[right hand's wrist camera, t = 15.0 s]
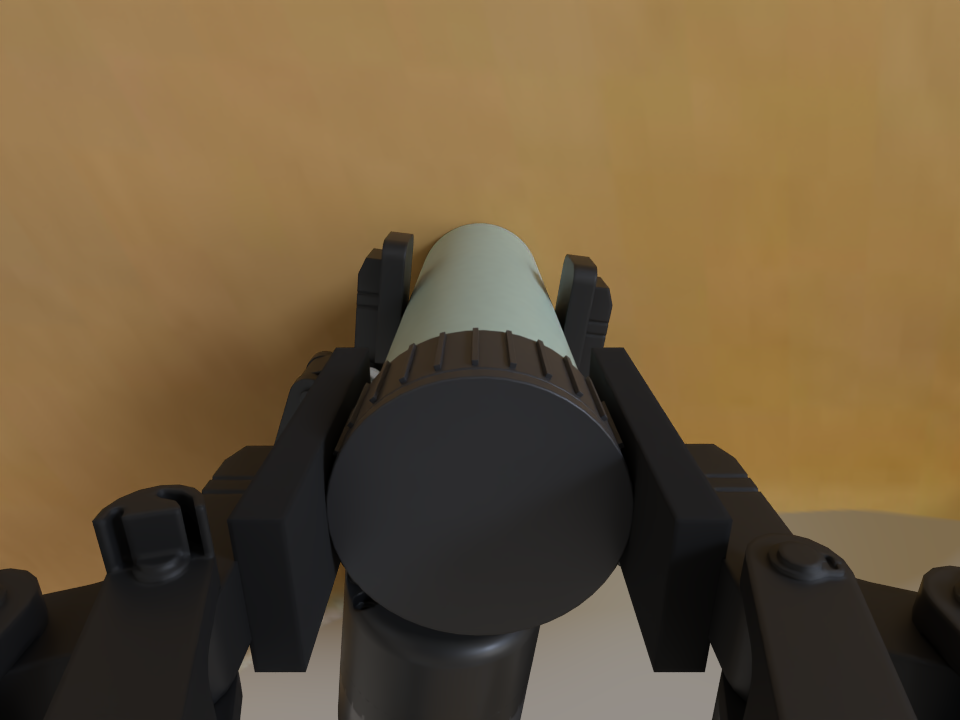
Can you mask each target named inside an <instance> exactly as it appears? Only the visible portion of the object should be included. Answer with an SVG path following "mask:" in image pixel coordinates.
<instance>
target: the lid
mask: <svg viewBox="0 0 960 720" xmlns="http://www.w3.org/2000/svg"><path fill="white" fill-rule="evenodd" d="M621 448H624V445H623V442H622V440H621V438H620V435H619V433H618V431H617V429H616V427H615V424H614V422H613V420H612V418H611V415H610V413H609V411H608V409H607V406H606V404H605V402H604V401H603V402H601V401H600V399H599V396H598V394H597V392H596V389H595V387H594V385H593V383H592V380H591V379H590V377H589V376H588V377H586V378H585V377H584V376H583V375H582V374H581V373H580V371H579V370H578V369H577V368H576V367H574V366H573V365H572V362H571V359H570V358H569V357H568V356H567V355H566V356H565V357H563V356H561V355H560V354H558V353H557V352H555V351H554V350H552V349H550V348H549V347H547V346H545V345H544V343H543V341H541V340H539V339H538V340H537V341H534V340H531V339H528V338H525V337H523V336H520V335H515V334H512V331H510V330H506V332H501V331H489V330H479V328H473V330H470V331H460V332H454V333H448V334H446V333H445V332H442V333H440V335H439V336H438V337H434V338H431V339H429V340H426V341H424V342H422V343H419V344H417V345H415V343H413V344H411V345H409V348H408V350H406V351H405V352H403V353H402V354H400V355H399V356H397V357H396V358H395V359H394V360H392V361H391V362H389V361H388V360H387V361H386V362H385V363H384V364H383V367H382V369H381V372H380V373H379V374H378V375H377V376H376V377H375V378H374V380H373V381H372V382H371V384H369V383H366V384H365V386H364V388H363V390H362V392H361V394H360V397H359V399H358V401H357V404H356V406H355V408H353V409H352V411H351V414H350V416H349V418H348V420H347V423H346V425H345V427H344V429H343V432H342V434H341V436H340V438H339V441H338V443H337V445H336V447H335V450H334V452H333V455H334V456H337V457H336V459H335V461H334V464H333V467H332V470H331V473H330V476H329V479H328V486H327V492H326V513H327V522H328V530H329V534H330V537H331V540H332V543H333V547H334V549H335V551H336V553H337V555H338V557H339V559H340V561H341V563H342V565H343V566H344V568H345V569H346V571H347V572H348V574H349V575H350V576H351V578H352V579H353V580H354V581H355V582H356V583H357V584H358V586H359V587H360V588H361V589H362V590H363V591H364V592H365V593H366V594H368V595H369V596H370V597H371V598H372V599H373V600H374V601H376V602H377V603H379V604H380V605H382V606H383V607H384V608H386V609H387V610H389V611H390V612H392V613H394V614H396V615H398V616H400V617H402V618H404V619H406V620H408V621H411V622H413V623H416V624H418V625H421V626H424V627H427V628H431V629H434V630H438V631H442V632H448V633H454V634H462V635H498V634H506V633H513V632H517V631H522V630H526V629H530V628H533V627H536V626H539V625H542V624H544V623H547V622H550V621H552V620H554V619H556V618H558V617H560V616H562V615H564V614H566V613H567V612H569V611H571V610H572V609H574V608H576V607H577V606H579V605H580V604H581V603H583V602H584V601H585V600H586V599H588V598H589V597H590V596H591V595H593V594H594V593H595V592H596V591H597V590H598V589H599V588H600V587H601V586H602V585H603V583H605V581H606V580H607V579H608V577H609V576H610V575H611V573H612V572H613V571H614V569H615V568H616V566H617V564H618V563H619V561H620V559H621V557H622V555H623V554H624V551H625V548H626V546H627V543H628V541H629V538H630V534H631V527H632V518H633V509H634V492H633V485H632V481H631V477H630V473H629V469H628V467H627V465H626V462H625V460H624V458H623V455H622V453H621V451H620V449H621Z"/></svg>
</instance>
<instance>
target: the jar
mask: <svg viewBox="0 0 960 720" xmlns="http://www.w3.org/2000/svg"><path fill="white" fill-rule="evenodd" d="M473 328H479V330H489V331H501V332H506V330H510V331H512V334H515V335H520V336H523V337H525V338H528V339H531V340H534V341H537V340H538V339H539V340H541V341H543V343H544V345H545V346H547V347H549V348H550V349H552V350H554V351H555V352H557V353H558V354H560V355H561V356H563V357H565V356H566V355H567V356H568V357H569V358H570V359H571V362H572V365H573V366H574V367H576V368H577V366H576V364H575V361H574V359H573V356H572V353H571V351H570V348H569V346H568V343H567V341H566V338H565V336H564V333H563V331H562V328H561V326H560V323H559V321H558V318H557V316H556V313H555V311H554V308H553V305H552V303H551V300H550V298H549V295H548V293H547V290H546V288H545V285H544V283H543V280H542V278H541V275H540V273H539V270H538V268H537V265H536V263H535V260H534V258H533V255H532V254H531V252H530V250H529V249H528V247H527V246H526V245H525V243H524V242H523V241H522V240H521V239H520V238H518V237H517V236H516V235H515V234H513V233H512V232H510V231H508V230H506V229H504V228H502V227H499V226H496V225H492V224H484V223H475V224H468V225H464V226H461V227H458V228H456V229H454V230H452V231H450V232H448V233H447V234H445V235H444V236H443V237H441V238H440V239H439V240H438V241H437V242H436V243H435V244H434V246H433V247H432V248H431V250H430V251H429V253H428V255H427V257H426V259H425V262H424V264H423V267H422V269H421V272H420V274H419V277H418V280H417V282H416V285H415V287H414V290H413V292H412V295H411V297H410V300H409V302H408V305H407V307H406V310H405V312H404V315H403V317H402V320H401V323H400V325H399V328H398V330H397V333H396V335H395V338H394V340H393V343H392V345H391V348H390V350H389V353H388V355H387V358H386V360H385V362H386V361H387V360H388V361H389V362H391V361H392V360H394V359H395V358H396V357H397V356H399V355H400V354H402V353H403V352H405V351H406V350H408V348H409V345H411V344H413V343H415V345H417V344H419V343H422V342H424V341H426V340H429V339H431V338H434V337H438V336H439V335H440V333H442V332H445V333H446V334H448V333H454V332H460V331H470V330H473Z"/></svg>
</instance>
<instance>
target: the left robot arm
mask: <svg viewBox="0 0 960 720" xmlns="http://www.w3.org/2000/svg"><path fill="white" fill-rule="evenodd" d="M413 240H414V236H413V234H407V233H399V232H390V233H389V235H388V236H387V237H386V238H385V240H384V243H383V249H373V250H372V251H371V252H370V254H369V255H368V256H367V257H366V259H365V261H364V263H363V265H362V267H361V269H360V271H359V273H358V289H357V291H358V294H357V309H356V329H355V347H354V348H369V362H370V376H371V382H372V381H373V380H374V378H375V377H376V376H377V375H378V374H379V373H380V372H381V369H382V367H383V364H384V363H385V360H386V358H387V355H388V353H389V350H390V348H391V345H392V343H393V340H394V338H395V335H396V333H397V330H398V328H399V325H400V323H401V320H402V317H403V315H404V312H405V310H406V307H407V305H408V302H409V290H410V278H411V266H412V254H413ZM611 310H612V301H611V295H610V290H609V288H608V286H607V285H606V284H605V282H604V281H603V280H602V278H601V277H597V267H596V265H595V264H594V263H593V261H592V260H591V259H590V258H589V257H585V256H577V255H569V254H567V255H566V257H565V260H564V264H563V269H562V275H561V280H560V286H559V291H558V297H557V302H556V308H555V313H556V316H557V318H558V321H559V323H560V326H561V328H562V331H563V333H564V336H565V338H566V341H567V343H568V346H569V348H570V351H571V353H572V356H573V359H574V361H575V364H576V366H577V369H578V370H579V371H580V373H581V374H582V375H583V376H584V377H585V378H586V377H588V376H589V371H590V357H591V348H603V347H604V342H605V336H606V333H607V328H608V322H609V319H610V314H611ZM332 353H333V352H329V351H322V352H319V353H317V354H315V355H314V356H313V357H312V359H311V360H310V362H309V363H308V365H307V368H306V370H305V371H304V373H303V374H302V375H301V376H300V377H299V378H298V379H297V380H296V381H295V383H294V384H293V386H292V387H291V389H290V392H289V396H288V399H287V403H286V406H285V409H284V413H283V416H282V420H281V423H280V427H279V430H278V433H277V437H276V440H275V443H276V441H277V440H278V438H279V437H280V435H281V434H282V432H283V430H284V429H285V427H286V426H287V424H288V423H289V421H290V419H291V418H292V416H293V415H294V413H295V412H296V410H297V408H298V407H299V405H300V404H301V402H302V401H303V399H304V397H305V396H306V394H307V393H308V391H309V389H310V388H311V386H312V385H313V383H314V382H315V380H316V378H317V377H318V375H319V374H320V372H321V371H322V369H323V367H324V366H325V364H326V363H327V361H328V360H329V358H330V356H331V355H332ZM274 445H275V444H274ZM618 565H619V566H620V563H618ZM539 628H540V625H539V626H536V627H533V628H530V629H526V630H522V631H517V632H513V633H506V634H498V635H462V634H454V633H448V632H442V631H438V630H434V629H431V628H427V627H424V626H421V625H418V624H416V623H413V622H411V621H408V620H406V619H404V618H402V617H400V616H398V615H396V614H394V613H392V612H390V611H389V610H387V609H386V608H384V607H383V606H382V605H380V604H379V603H377V602H376V601H374V600H373V599H372V598H371V597H370V596H369V595H368V594H366V593H365V592H364V591H363V590H362V589H361V588H360V587H359V586H358V584H357V583H356V582H355V581H354V580H353V579H352V578H351V576H350V575H349V574H348V572H347V571H346V569H345V590H344V608H343V627H342V645H341V661H340V680H339V701H338V720H520V718H521V713H522V709H523V704H524V699H525V694H526V689H527V685H528V680H529V675H530V671H531V666H532V662H533V657H534V652H535V647H536V642H537V638H538V633H539Z"/></svg>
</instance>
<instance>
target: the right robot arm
mask: <svg viewBox="0 0 960 720" xmlns="http://www.w3.org/2000/svg"><path fill="white" fill-rule="evenodd" d="M589 377H590V379H591V380H592V383H593V385H594V387H595V389H596V392H597V394H598V396H599V399H600V401H601V402H603V401H604V402H605V404H606V406H607V409H608V411H609V413H610V415H611V418H612V420H613V422H614V424H615V427H616V429H617V431H618V433H619V435H620V438H621V440H622V442H623V445H624V448H621V449H620V451H621V453H622V455H623V458H624V460H625V462H626V465H627V467H628V469H629V473H630V477H631V481H632V485H633V492H634V509H633V518H632V527H631V534H630V538H629V541H628V543H627V546H626V548H625V551H624V554H623V555H622V557H621V559H620V561H619V563H620V566H621V569H622V572H623V575H624V579H625V582H626V585H627V588H628V591H629V594H630V598H631V601H632V604H633V607H634V610H635V613H636V617H637V620H638V623H639V626H640V629H641V632H642V636H643V639H644V642H645V645H646V648H647V651H648V655H649V658H650V661H651V664H652V667H653V670H654V672H705V668H706V663H707V657H708V652H709V646H710V643H711V645H712V647H713V650H714V652H715V654H716V657H717V659H718V661H719V663H720V666H721V668H722V672H721V677H720V682H719V687H718V692H717V698H716V703H715V708H714V713H713V718H712V720H960V567H956V566H944V567H937V568H932V569H931V570H930V571H929V572H927V573H926V574H925V575H924V576H923V579H922V582H921V585H920V588H919V591H918V592H914V591H909V590H904V589H900V588H895V587H891V586H886V585H881V584H876V583H871V582H867V581H864V580H860V579H857V578H855V576H854V574H853V572H852V570H851V569H850V568H849V566H848V565H847V564H846V562H845V561H844V560H843V559H842V558H841V557H839V556H838V555H837V554H835V553H834V552H833V551H831V550H830V549H829V548H827V547H825V546H823V545H821V544H819V543H817V542H814V541H812V540H810V539H807V538H804V537H800V536H796V535H793V534H792V533H791V531H790V530H789V529H788V527H787V526H786V525H785V523H784V522H783V521H782V519H781V518H780V517H779V516H778V514H777V513H776V512H775V510H774V509H773V508H772V506H771V505H770V504H769V502H768V501H767V500H766V498H765V497H764V496H763V494H762V493H761V492H758V488H757V486H756V485H755V484H754V482H753V481H752V480H751V479H750V478H748V476H747V473H746V472H745V471H744V469H743V468H742V467H741V465H740V464H739V463H738V461H737V460H736V459H735V458H734V457H733V456H731V455H730V454H728V453H726V452H725V451H723V450H722V449H720V448H719V447H717V446H716V445H714V444H684V442H683V441H682V439H681V437H680V436H679V434H678V433H677V431H676V430H675V428H674V426H673V425H672V423H671V422H670V420H669V418H668V417H667V415H666V414H665V412H664V411H663V409H662V407H661V406H660V404H659V403H658V401H657V400H656V398H655V396H654V395H653V393H652V392H651V390H650V389H649V387H648V385H647V384H646V382H645V381H644V379H643V377H642V376H641V374H640V373H639V371H638V370H637V368H636V366H635V365H634V363H633V362H632V360H631V359H630V357H629V355H628V354H627V352H626V351H625V349H624V348H591V357H590V371H589ZM366 383H369V384H371V376H370V362H369V348H335V350H334V352H333V353H332V355H331V356H330V358H329V360H328V361H327V363H326V364H325V366H324V367H323V369H322V371H321V372H320V374H319V375H318V377H317V378H316V380H315V382H314V383H313V385H312V386H311V388H310V389H309V391H308V393H307V394H306V396H305V397H304V399H303V401H302V402H301V404H300V405H299V407H298V408H297V410H296V412H295V413H294V415H293V416H292V418H291V419H290V421H289V423H288V424H287V426H286V427H285V429H284V430H283V432H282V434H281V435H280V437H279V438H278V440H277V441H276V443H275V445H274V446H246V447H244V448H243V449H241V450H239V451H238V452H236V453H235V454H233V455H232V456H230V457H229V458H227V459H226V460H225V461H224V462H223V463H222V465H221V466H220V467H219V469H218V470H217V471H216V473H215V474H214V475H213V478H212V480H210V481H209V482H208V483H207V485H206V486H205V487H204V489H203V490H202V494H201V493H200V492H199V491H198V490H196V489H195V488H192V487H188V486H183V485H160V486H155V487H151V488H146V489H142V490H138V491H136V492H133V493H131V494H129V495H126V496H124V497H121V498H119V499H117V500H116V501H114V502H113V503H111V504H110V505H108V506H107V507H105V508H104V509H102V510H101V512H100V513H99V514H98V515H97V516H96V517H95V519H94V520H93V521H92V522H93V526H94V529H95V533H96V536H97V540H98V543H99V547H100V550H101V554H102V557H103V561H104V564H105V568H106V571H107V575H106V577H105V579H104V581H102V582H98V583H95V584H91V585H86V586H82V587H77V588H72V589H68V590H63V591H58V592H54V593H49V594H44V595H42V592H41V589H40V586H39V583H38V580H37V578H36V577H35V576H34V575H32V574H31V573H30V572H28V571H26V570H18V569H11V568H10V569H3V570H0V720H240V715H241V705H242V689H241V683H240V677H239V672H238V670H239V668H240V666H241V663H242V661H243V659H244V656H245V654H246V652H247V650H248V647H249V645H250V649H251V654H252V659H253V665H254V670H255V672H306V669H307V666H308V663H309V660H310V657H311V653H312V650H313V647H314V644H315V641H316V637H317V634H318V631H319V628H320V625H321V622H322V619H323V615H324V612H325V609H326V606H327V603H328V600H329V596H330V593H331V590H332V587H333V584H334V581H335V577H336V574H337V571H338V568H339V565H340V562H341V561H340V559H339V557H338V555H337V553H336V551H335V549H334V547H333V543H332V540H331V537H330V534H329V530H328V522H327V513H326V492H327V486H328V479H329V476H330V473H331V470H332V467H333V464H334V461H335V459H336V457H337V456H334V455H333V452H334V450H335V447H336V445H337V443H338V441H339V438H340V436H341V434H342V432H343V429H344V427H345V425H346V423H347V420H348V418H349V416H350V414H351V411H352V409H353V408H355V406H356V404H357V401H358V399H359V397H360V394H361V392H362V390H363V388H364V386H365V384H366Z"/></svg>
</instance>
